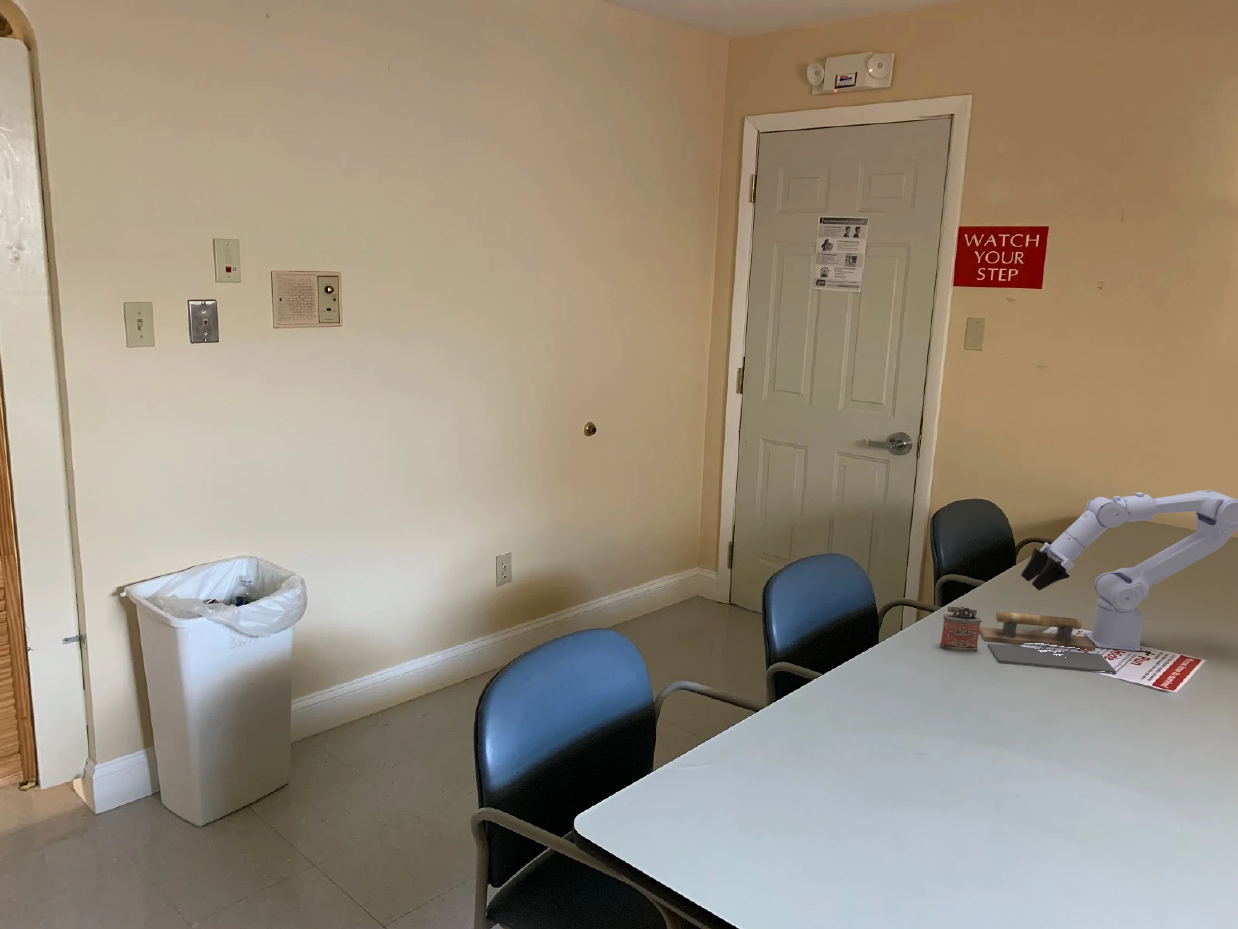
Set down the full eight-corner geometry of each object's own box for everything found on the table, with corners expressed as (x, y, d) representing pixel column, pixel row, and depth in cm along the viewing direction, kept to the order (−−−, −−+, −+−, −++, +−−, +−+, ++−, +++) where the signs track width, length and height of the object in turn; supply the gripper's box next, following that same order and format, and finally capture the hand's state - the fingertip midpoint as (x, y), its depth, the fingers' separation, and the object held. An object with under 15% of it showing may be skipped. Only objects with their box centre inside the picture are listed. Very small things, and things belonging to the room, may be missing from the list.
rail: (1077, 627, 208) (1078, 617, 207) (1080, 631, 206) (1082, 621, 205) (995, 619, 210) (996, 610, 210) (998, 623, 208) (999, 613, 207)
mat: (1100, 656, 201) (1100, 654, 201) (1115, 674, 193) (1116, 671, 192) (987, 646, 204) (988, 643, 204) (998, 662, 196) (998, 660, 196)
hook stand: (1085, 640, 210) (1088, 620, 209) (1095, 651, 204) (1098, 630, 203) (978, 630, 213) (980, 610, 212) (984, 640, 207) (987, 620, 206)
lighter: (974, 647, 204) (980, 605, 202) (979, 653, 200) (984, 610, 198) (938, 644, 204) (943, 602, 202) (941, 650, 201) (947, 607, 199)
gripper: (1050, 522, 212) (1007, 563, 214) (1073, 535, 197) (1027, 579, 200) (1072, 542, 212) (1029, 583, 214) (1097, 557, 198) (1050, 601, 200)
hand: (1029, 582), depth 207 cm, fingers open, 7 cm apart
